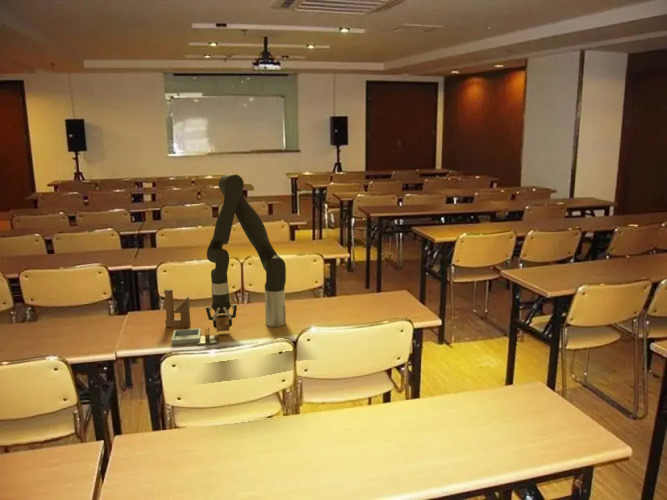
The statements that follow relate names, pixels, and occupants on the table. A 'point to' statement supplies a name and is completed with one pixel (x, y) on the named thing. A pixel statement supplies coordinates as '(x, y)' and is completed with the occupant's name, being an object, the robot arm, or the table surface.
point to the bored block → (222, 322)
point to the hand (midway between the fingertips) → (222, 327)
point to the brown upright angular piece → (176, 311)
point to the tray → (186, 336)
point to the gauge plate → (209, 342)
